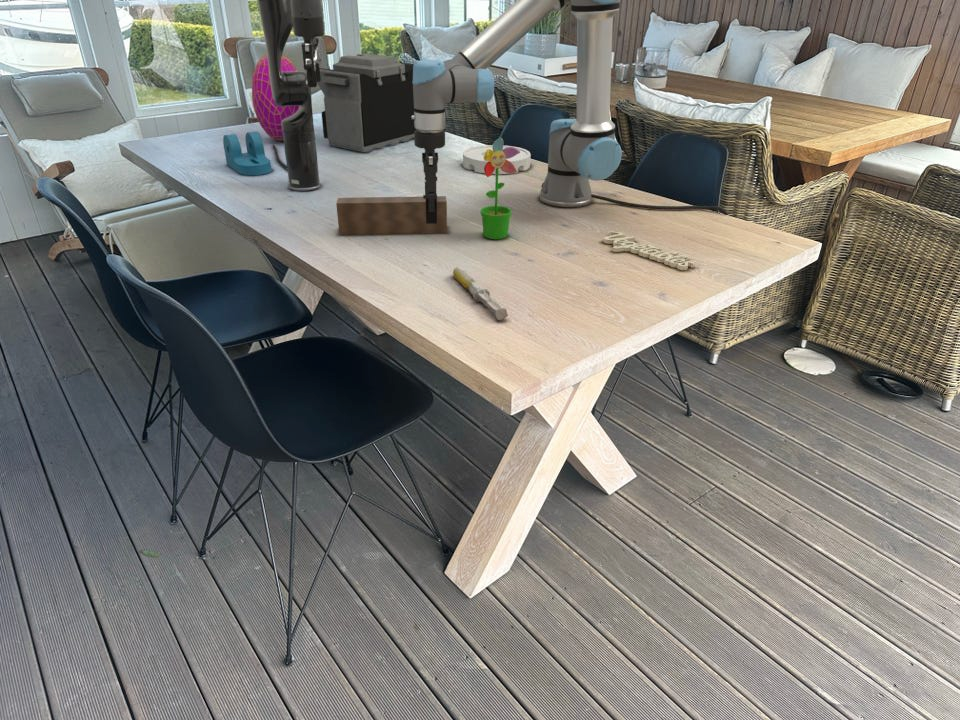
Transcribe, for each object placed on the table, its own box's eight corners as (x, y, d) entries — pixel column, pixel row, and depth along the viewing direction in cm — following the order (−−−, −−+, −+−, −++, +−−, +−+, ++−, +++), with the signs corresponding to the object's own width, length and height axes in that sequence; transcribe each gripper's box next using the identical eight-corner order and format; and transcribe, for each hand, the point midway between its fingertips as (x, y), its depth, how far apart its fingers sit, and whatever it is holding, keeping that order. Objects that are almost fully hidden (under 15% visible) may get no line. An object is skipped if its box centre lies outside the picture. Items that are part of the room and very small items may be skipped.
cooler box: (385, 129, 283) (380, 49, 267) (426, 136, 272) (424, 54, 256) (318, 145, 257) (309, 59, 242) (361, 155, 246) (354, 64, 231)
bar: (446, 227, 182) (445, 196, 178) (447, 233, 178) (446, 201, 174) (341, 229, 180) (338, 197, 176) (339, 235, 176) (336, 203, 172)
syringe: (449, 274, 155) (449, 263, 153) (465, 272, 156) (464, 260, 154) (490, 323, 135) (491, 310, 133) (508, 319, 136) (508, 307, 134)
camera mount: (227, 164, 233) (221, 132, 227) (257, 160, 238) (252, 129, 233) (244, 176, 220) (239, 143, 215) (276, 172, 225) (271, 139, 220)
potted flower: (487, 243, 172) (489, 140, 159) (473, 233, 178) (473, 134, 165) (519, 237, 176) (524, 137, 163) (505, 227, 182) (508, 130, 169)
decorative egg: (293, 132, 276) (283, 50, 261) (319, 140, 264) (310, 56, 249) (249, 139, 265) (236, 54, 250) (273, 148, 253) (261, 60, 238)
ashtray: (464, 155, 246) (464, 144, 244) (529, 157, 246) (529, 145, 244) (461, 173, 226) (461, 161, 224) (531, 174, 226) (531, 162, 224)
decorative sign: (589, 238, 172) (614, 230, 178) (588, 242, 173) (613, 233, 179) (677, 270, 156) (702, 259, 161) (677, 274, 156) (701, 263, 162)
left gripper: (296, 12, 176) (303, 80, 184) (287, 17, 164) (296, 89, 172) (325, 12, 177) (332, 80, 185) (319, 17, 165) (326, 88, 173)
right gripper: (414, 119, 177) (416, 199, 188) (414, 141, 156) (416, 230, 167) (443, 119, 178) (443, 199, 189) (447, 141, 156) (447, 230, 167)
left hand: (314, 84), depth 179 cm, fingers open, 8 cm apart
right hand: (430, 214), depth 178 cm, fingers open, 13 cm apart
